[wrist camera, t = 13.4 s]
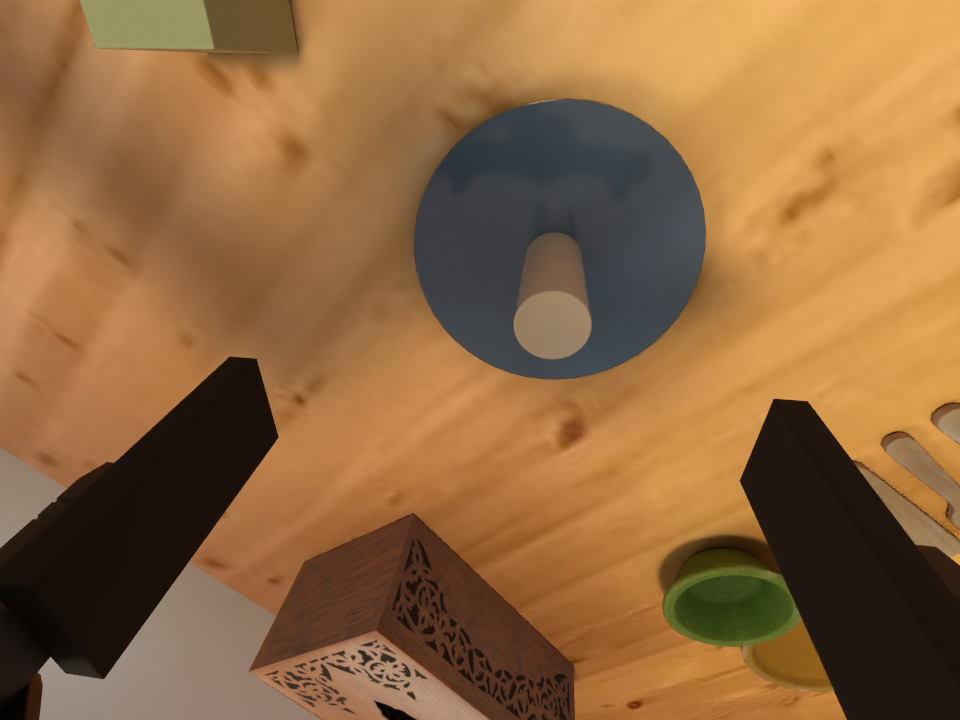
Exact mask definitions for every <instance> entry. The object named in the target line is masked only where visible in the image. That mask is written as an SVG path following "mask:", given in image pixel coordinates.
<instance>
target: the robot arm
mask: <svg viewBox="0 0 960 720" xmlns="http://www.w3.org/2000/svg"><path fill="white" fill-rule="evenodd" d="M278 438H279V437H278V433H277V430H276V426H275V423H274V419H273V416H272V412H271V408H270V405H269V401H268V398H267V394H266V391H265V387H264V384H263V380H262V376H261V373H260V369H259V366H258V362H257V359H253V358H240V357H229V358H228V359H227V360H226V361H224V362H223V363H222V364H221V365H220V366H219V367H218V368H217V369H216V370H215V371H214V372H213V373H211V374H210V375H209V376H208V377H207V378H206V379H205V380H204V381H203V382H202V383H201V384H200V385H198V386H197V387H196V388H195V389H194V390H193V391H192V392H191V393H190V394H189V395H188V396H187V397H185V398H184V399H183V400H182V401H181V402H180V403H179V404H178V405H177V406H176V407H175V408H174V409H172V410H171V411H170V412H169V413H168V414H167V415H166V416H165V417H164V418H163V419H162V420H160V421H159V422H158V423H157V424H156V425H155V426H154V427H153V428H152V429H151V430H150V431H149V432H147V433H146V434H145V435H144V436H143V437H142V438H141V439H140V440H139V441H138V442H137V443H136V444H134V445H133V446H132V447H131V448H130V449H129V450H128V451H127V452H126V453H125V454H124V455H123V456H121V457H120V458H119V459H118V460H117V461H116V462H115V463H110V462H106V463H105V464H103V465H101V466H100V467H98V468H96V469H94V470H93V471H91V472H89V473H88V474H86V475H84V476H82V477H81V478H79V479H78V480H77V481H76V482H75V483H73V484H72V485H71V486H70V487H69V488H68V489H67V490H66V491H65V492H63V493H62V494H61V495H60V496H59V497H58V498H57V501H56V502H55V503H54V502H52V503H51V504H50V505H49V506H48V507H46V508H45V509H44V510H43V511H42V512H41V513H40V514H39V515H38V518H37V519H33V520H32V521H31V522H30V523H28V524H27V525H26V526H25V527H24V528H23V529H21V530H20V531H19V532H18V533H17V534H16V535H15V536H14V537H13V538H11V539H10V540H9V541H8V542H7V543H6V544H5V545H4V546H2V547H1V548H0V720H39V716H40V706H41V697H42V687H43V686H42V680H41V675H40V674H39V673H38V671H39V670H40V668H41V667H42V666H43V665H44V663H45V662H46V661H47V660H48V659H49V658H50V657H52V659H53V660H54V661H55V662H56V663H57V664H58V665H59V666H60V668H61V669H62V670H63V671H64V672H65V673H67V674H74V675H80V676H87V677H93V678H100V679H104V678H105V677H106V676H107V674H108V673H109V671H110V670H111V669H112V667H113V666H114V664H115V663H116V661H117V660H118V659H119V658H120V656H121V655H122V653H123V652H124V651H125V649H126V648H127V646H128V645H129V644H130V642H131V641H132V640H133V638H134V637H135V635H136V634H137V633H138V631H139V630H140V629H141V627H142V626H143V624H144V623H145V622H146V620H147V619H148V617H149V616H150V615H151V613H152V612H153V611H154V609H155V608H156V606H157V605H158V604H159V602H160V601H161V599H162V598H163V597H164V595H165V594H166V592H167V591H168V590H169V588H170V587H171V586H172V584H173V583H174V581H175V580H176V579H177V577H178V576H179V575H180V573H181V572H182V570H183V569H184V567H185V566H186V565H187V563H188V562H189V561H190V559H191V558H192V557H193V555H194V554H195V552H196V551H197V550H198V548H199V547H200V545H201V544H202V543H203V541H204V540H205V539H206V537H207V536H208V534H209V533H210V532H211V530H212V529H213V527H214V526H215V525H216V523H217V522H218V521H219V519H220V518H221V516H222V515H223V514H224V512H225V511H226V509H227V508H228V507H229V505H230V504H231V503H232V501H233V500H234V498H235V497H236V496H237V494H238V493H239V492H240V490H241V489H242V487H243V486H244V485H245V483H246V482H247V480H248V479H249V478H250V476H251V475H252V474H253V472H254V471H255V469H256V468H257V467H258V465H259V464H260V462H261V461H262V460H263V458H264V457H265V456H266V454H267V453H268V451H269V450H270V449H271V447H272V446H273V444H274V443H275V442H276V440H277V439H278ZM740 482H741V485H742V487H743V489H744V491H745V494H746V496H747V498H748V500H749V502H750V505H751V507H752V509H753V511H754V514H755V516H756V518H757V520H758V522H759V525H760V527H761V529H762V531H763V534H764V536H765V538H766V540H767V543H768V545H769V547H770V549H771V551H772V554H773V556H774V558H775V560H776V563H777V565H778V567H779V569H780V571H781V574H782V576H783V578H784V580H785V583H786V585H787V587H788V589H789V591H790V594H791V596H792V598H793V600H794V603H795V605H796V607H797V609H798V612H799V614H800V616H801V618H802V620H803V623H804V625H805V627H806V629H807V632H808V634H809V636H810V638H811V640H812V643H813V645H814V647H815V649H816V652H817V654H818V656H819V658H820V660H821V663H822V665H823V667H824V669H825V672H826V674H827V676H828V678H829V681H830V683H831V685H832V687H833V689H834V692H835V694H836V696H837V698H838V701H839V703H840V705H841V707H842V709H843V712H844V714H845V716H846V718H847V720H960V566H959V565H958V564H957V563H956V562H955V561H953V560H952V559H951V558H950V557H948V556H947V555H946V554H945V553H943V552H942V551H941V550H940V549H938V548H937V547H934V546H924V545H915V543H914V542H913V541H912V539H911V538H910V537H909V535H908V534H907V533H906V531H905V530H904V529H903V527H902V526H901V525H900V523H899V522H898V521H897V519H896V518H895V517H894V515H893V514H892V513H891V511H890V510H889V509H888V507H887V506H886V505H885V503H884V502H883V501H882V499H881V498H880V497H879V495H878V494H877V493H876V491H875V490H874V489H873V487H872V486H871V485H870V483H869V482H868V481H867V479H866V478H865V477H864V476H863V474H862V473H861V472H860V470H859V469H858V468H857V466H856V465H855V464H854V462H853V461H852V460H851V458H850V457H849V456H848V454H847V453H846V452H845V450H844V449H843V448H842V446H841V445H840V444H839V442H838V441H837V440H836V438H835V437H834V436H833V434H832V433H831V432H830V430H829V429H828V428H827V426H826V425H825V424H824V422H823V421H822V420H821V418H820V417H819V416H818V414H817V413H816V412H815V410H814V409H813V408H812V406H811V405H810V404H809V402H808V401H795V400H783V399H774V400H773V402H772V404H771V407H770V409H769V412H768V414H767V417H766V419H765V421H764V424H763V426H762V429H761V431H760V433H759V436H758V438H757V441H756V443H755V445H754V448H753V450H752V453H751V455H750V458H749V460H748V462H747V465H746V467H745V470H744V472H743V474H742V477H741V479H740Z"/></svg>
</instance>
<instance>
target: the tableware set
mask: <svg viewBox="0 0 960 720" xmlns="http://www.w3.org/2000/svg"><path fill="white" fill-rule="evenodd" d="M932 421H933V424H934V425H935V426H936V427H937V428H938V429H939V430H940V431H942V432H943V433H944V434H946V435H947V436H948V437H950V438H951V439H953V440H954V441H955V442H957V443H958V444H960V404H957V403H953V404H947V405H945V406H943V407H942V408H940V409H938V410H937V411H936V412H935V413H934V414H933V418H932ZM882 446H883V448H884V449H885V451H886V452H887V453H888V454H889V455H890V456H891V457H892V458H893V459H894V460H895V461H897V462H898V463H899V464H901V465H902V466H903V467H904V468H906V469H907V470H908V471H909V472H911V473H912V474H913V475H915V476H916V477H917V478H918V479H920V480H921V481H922V482H924V483H925V484H926V485H928V486H929V487H930V488H931V489H933V490H934V491H935V492H936V493H938V494H939V495H940V496H941V497H943V498H944V499H945V500H947V501H948V503H949V510H948V519H949V520H950V521H951V522H952V523H953V525H955V526H956V527H957V528H958V529H959V530H960V486H959V485H958V484H957V483H956V482H955V481H954V480H953V479H952V478H951V477H950V476H949V475H948V474H947V473H946V472H945V470H944V469H943V468H942V467H941V466H940V465H939V464H938V463H937V462H936V461H935V460H934V459H933V458H932V457H931V456H930V455H929V453H928V452H927V451H926V450H925V449H924V448H923V447H922V446H921V445H920V444H919V443H918V442H917V441H916V440H915V439H914V438H913V437H912V436H910V435H908V434H906V433H901V432H898V433H894V434H891V435H889V436H887V437H886V438H885V439H884V441H883V444H882ZM854 464H855V465H856V466H857V468H858V469H859V470H860V472H861V473H862V474H863V476H864V477H865V478H866V479H867V481H868V482H869V483H870V485H871V486H872V487H873V489H874V490H875V491H876V493H877V494H878V495H879V497H880V498H881V499H882V501H883V502H884V503H885V505H886V506H887V507H888V509H889V510H890V511H891V513H892V514H893V515H894V517H895V518H896V519H897V521H898V522H899V523H900V525H901V526H902V527H903V529H904V530H905V531H906V533H907V534H908V535H909V537H910V538H911V539H912V541H913V542H914V543H915V545H924V546H934V547H937V548H938V549H940V550H941V551H942V552H943V553H945V554H946V555H947V556H948V557H951V556H954V555H957V554H959V553H960V540H959V539H958V538H957V537H955V536H954V535H953V534H952V533H950V532H949V531H948V530H946V529H945V528H944V527H943V526H941V525H940V524H939V523H938V522H936V521H935V520H934V519H932V518H931V517H930V516H928V515H927V514H926V513H925V512H923V511H922V510H921V509H919V508H918V507H917V506H916V505H914V504H913V503H912V502H910V501H909V500H908V499H906V498H905V497H904V496H903V495H901V494H900V493H899V492H898V491H896V490H895V489H894V488H892V487H891V486H890V485H889V484H887V483H886V482H885V481H883V480H882V479H881V478H880V477H878V476H877V475H876V474H874V473H873V472H872V471H871V470H869V469H868V468H867V467H865V466H864V465H863V464H861V463H858V462H854ZM662 605H663V614H664V616H665V618H666V620H667V622H668V623H669V624H670V626H671V627H672V628H673V629H675V630H676V631H677V632H679V633H680V634H682V635H684V636H686V637H688V638H690V639H692V640H695V641H698V642H702V643H705V644H710V645H716V646H728V647H736V646H743V658H744V661H745V662H746V664H747V666H748V667H749V668H750V669H751V670H752V671H753V672H754V673H755V674H756V675H758V676H759V677H761V678H762V679H764V680H766V681H768V682H771V683H773V684H775V685H778V686H782V687H785V688H789V689H795V690H801V691H810V692H832V691H834V689H833V687H832V685H831V683H830V681H829V678H828V676H827V674H826V672H825V669H824V667H823V665H822V663H821V660H820V658H819V656H818V654H817V652H816V649H815V647H814V645H813V643H812V640H811V638H810V636H809V634H808V632H807V629H806V627H805V625H804V623H803V620H802V618H801V616H800V614H799V612H798V609H797V607H796V605H795V603H794V600H793V598H792V596H791V594H790V591H789V589H788V587H787V585H786V583H785V580H784V578H783V576H782V574H781V573H780V572H778V571H776V570H774V569H771V568H768V567H767V566H766V565H764V564H763V563H761V562H760V561H759V560H757V559H756V558H754V557H753V556H752V555H750V554H747V553H745V552H743V551H739V550H734V549H726V548H718V549H711V550H706V551H702V552H700V553H697V554H695V555H693V556H691V557H690V558H689V559H687V560H686V561H685V562H684V564H683V565H682V567H681V568H680V571H679V573H678V575H677V577H676V579H675V581H674V582H673V583H672V584H671V585H670V586H669V588H668V590H667V591H666V593H665V595H664V599H663V603H662Z"/></svg>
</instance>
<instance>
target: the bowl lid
mask: <svg viewBox="0 0 960 720" xmlns="http://www.w3.org/2000/svg"><path fill="white" fill-rule="evenodd" d="M705 237H706V227H705V216H704V209H703V205H702V201H701V197H700V193H699V190H698V188H697V185H696V183H695V181H694V178H693V176H692V173H691V172H690V170H689V168H688V167H687V165H686V163H685V162H684V160H683V159H682V157H681V155H680V154H679V153H678V152H677V151H676V149H675V148H674V147H673V146H672V145H671V144H670V142H669V141H668V140H667V139H666V138H665V137H663V136H662V135H661V134H660V133H659V132H658V131H656V130H655V129H654V128H653V127H652V126H651V125H649V124H647V123H646V122H644V121H642V120H641V119H639V118H638V117H636V116H634V115H633V114H631V113H629V112H626V111H624V110H622V109H619V108H617V107H614V106H612V105H609V104H605V103H601V102H597V101H593V100H586V99H576V98H555V99H544V100H539V101H534V102H529V103H524V104H521V105H519V106H516V107H513V108H510V109H507V110H505V111H503V112H501V113H499V114H497V115H495V116H493V117H491V118H489V119H487V120H486V121H484V122H483V123H481V124H480V125H479V126H477V127H476V128H474V129H473V130H472V131H470V132H469V133H467V134H466V135H465V136H464V137H463V138H462V139H461V140H460V141H459V142H458V143H457V144H456V145H455V146H454V147H453V148H452V149H451V150H450V151H449V152H448V154H447V155H446V156H445V157H444V159H443V160H442V161H441V162H440V164H439V165H438V167H437V169H436V170H435V172H434V174H433V175H432V177H431V179H430V180H429V182H428V185H427V187H426V190H425V192H424V194H423V197H422V199H421V203H420V206H419V210H418V214H417V218H416V225H415V232H414V256H415V263H416V270H417V274H418V278H419V282H420V286H421V288H422V291H423V293H424V296H425V298H426V301H427V303H428V305H429V306H430V308H431V310H432V312H433V314H434V315H435V317H436V318H437V320H438V321H439V322H440V324H441V325H442V326H443V328H444V329H445V330H446V331H447V332H448V333H449V334H450V336H451V337H452V338H453V339H454V340H455V341H456V342H457V343H459V344H460V345H461V346H462V347H463V348H465V349H466V350H467V351H468V352H470V353H471V354H473V355H474V356H476V357H477V358H479V359H480V360H482V361H484V362H486V363H488V364H490V365H492V366H494V367H496V368H499V369H501V370H504V371H507V372H509V373H513V374H517V375H521V376H525V377H531V378H539V379H570V378H578V377H583V376H588V375H593V374H596V373H599V372H602V371H606V370H608V369H611V368H613V367H615V366H618V365H620V364H622V363H624V362H626V361H628V360H630V359H631V358H633V357H635V356H637V355H638V354H640V353H641V352H642V351H644V350H645V349H646V348H648V347H649V346H651V345H652V344H653V343H654V342H655V341H656V340H657V339H658V338H660V337H661V336H662V335H663V334H664V333H665V332H666V331H667V330H668V328H669V327H670V326H671V325H672V324H673V323H674V321H675V320H676V319H677V318H678V316H679V315H680V313H681V312H682V310H683V309H684V307H685V306H686V304H687V302H688V300H689V298H690V296H691V294H692V292H693V290H694V288H695V286H696V283H697V280H698V277H699V274H700V271H701V267H702V262H703V257H704V252H705Z"/></svg>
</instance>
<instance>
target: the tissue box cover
mask: <svg viewBox="0 0 960 720" xmlns="http://www.w3.org/2000/svg"><path fill="white" fill-rule="evenodd" d="M249 672H250V673H251V674H253V675H254V676H256V677H257V678H259V679H261V680H262V681H263V682H265V683H266V684H268V685H270V686H271V687H273V688H274V689H276V690H277V691H279V692H281V693H282V694H284V695H285V696H286V697H288V698H289V699H291V700H293V701H294V702H296V703H297V704H299V705H300V706H302V707H303V708H305V709H307V710H308V711H309V712H311V713H312V714H314V715H316V716H317V717H319V718H320V719H322V720H575V708H574V673H573V665H572V664H571V663H570V662H569V661H568V660H567V659H566V658H565V657H564V656H563V655H561V654H560V653H559V652H558V651H557V650H556V649H555V648H554V647H553V646H552V645H551V644H550V643H549V642H548V641H547V640H546V639H545V638H544V637H543V636H542V635H540V634H539V633H538V632H537V631H536V630H535V629H534V628H533V627H532V626H531V625H530V624H529V623H528V622H527V621H526V620H525V619H524V618H523V617H522V616H521V615H519V614H518V613H517V612H516V611H515V610H514V609H513V608H512V607H511V606H510V605H509V604H508V603H507V602H506V601H505V600H504V599H503V598H502V597H501V596H500V595H498V594H497V593H496V592H495V591H494V590H493V589H492V588H491V587H490V586H489V585H488V584H487V583H486V582H485V581H484V580H483V579H482V578H481V577H480V576H479V575H477V574H476V573H475V572H474V571H473V570H472V569H471V568H470V567H469V566H468V565H467V564H466V563H465V562H464V561H463V560H462V559H461V558H460V557H459V556H458V555H456V554H455V553H454V552H453V551H452V550H451V549H450V548H449V547H448V546H447V545H446V544H445V543H444V542H443V541H442V540H441V539H440V538H439V537H438V536H436V535H435V534H434V533H433V532H432V531H431V530H430V529H429V528H428V527H427V526H426V525H425V524H424V523H423V522H422V521H421V520H420V519H419V518H418V517H417V516H415V515H414V514H411V515H409V516H407V517H405V518H402V519H400V520H398V521H396V522H393V523H391V524H389V525H387V526H384V527H382V528H380V529H378V530H375V531H373V532H371V533H369V534H366V535H364V536H362V537H360V538H357V539H355V540H353V541H351V542H348V543H346V544H344V545H342V546H339V547H337V548H335V549H333V550H330V551H328V552H326V553H324V554H321V555H319V556H317V557H315V558H312V559H310V560H308V561H306V562H304V563H303V565H302V567H301V569H300V571H299V573H298V575H297V577H296V579H295V581H294V583H293V585H292V587H291V589H290V591H289V593H288V595H287V597H286V599H285V601H284V603H283V605H282V607H281V609H280V611H279V613H278V615H277V617H276V619H275V620H274V622H273V625H272V626H271V629H270V631H269V632H268V634H267V636H266V638H265V640H264V642H263V644H262V646H261V648H260V650H259V652H258V654H257V656H256V658H255V660H254V662H253V664H252V666H251V668H250V670H249Z"/></svg>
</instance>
